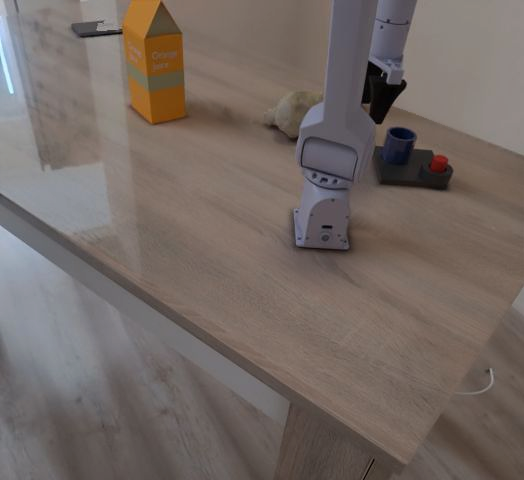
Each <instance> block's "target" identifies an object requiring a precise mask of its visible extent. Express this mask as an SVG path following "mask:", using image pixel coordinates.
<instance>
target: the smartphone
mask: <svg viewBox="0 0 524 480" xmlns="http://www.w3.org/2000/svg"><path fill="white" fill-rule="evenodd" d="M105 20H106V19H104V20H103V19H102V20H95V21H84V22H73V23H71V24H70V27H71V28H72V30H73V32H75V33H76V34H77V36H78V37H90V36H98V35H99V36H100V35H108V34H115V33H123V31H122V29H119V30H107V31H97V30H96V29H97V26H98V23H103V22H104V21H105ZM103 24H104V23H103Z"/></svg>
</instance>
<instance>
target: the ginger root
mask: <svg viewBox="0 0 524 480" xmlns="http://www.w3.org/2000/svg"><path fill="white" fill-rule="evenodd" d="M323 99H324V91H306V90H294V91H291V92H289V93H286V94H285V95H284V96H283V97H281V98H280V100H279V102H278V103H277V106H276V107H270V108H269V109H267V110H266V111H265V112H264V113H263V118H264V122H265V123H266V124H268V126H277V127H278V129H279V130H280V131H282V132H283V133H285V134H286V135H287V136H288V138H290V139H291V138H292V139H293V138H294V139H295V138H299V131H300V126H301V123H302V121H303V119H304V117H305V116H306V114H307V113H308V111H309V110H310V109H311V108H312V107H313V106H315V105H317V104H319V103H321V102H323Z"/></svg>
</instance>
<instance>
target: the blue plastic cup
mask: <svg viewBox="0 0 524 480" xmlns="http://www.w3.org/2000/svg"><path fill="white" fill-rule="evenodd" d="M384 135H385V136H384V138H383V143H382V145H381V146H382V149H381V158H382V159H383V160H385V161H386V162H388V163H391V164H396V165H402V164H406V163H408V162H409V159H410V158H411V155H412V152H413V149H415V145H416V142H417V140H418V135H417V133H416V132H415V131H414V130H412V129H410V128H407V127H404V126H390V127H389V128H387V129H386V131H385V134H384Z"/></svg>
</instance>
